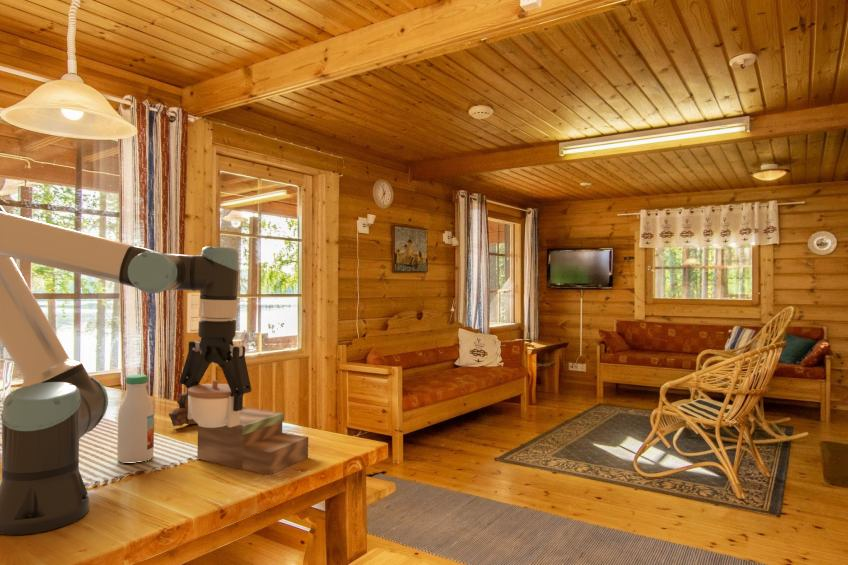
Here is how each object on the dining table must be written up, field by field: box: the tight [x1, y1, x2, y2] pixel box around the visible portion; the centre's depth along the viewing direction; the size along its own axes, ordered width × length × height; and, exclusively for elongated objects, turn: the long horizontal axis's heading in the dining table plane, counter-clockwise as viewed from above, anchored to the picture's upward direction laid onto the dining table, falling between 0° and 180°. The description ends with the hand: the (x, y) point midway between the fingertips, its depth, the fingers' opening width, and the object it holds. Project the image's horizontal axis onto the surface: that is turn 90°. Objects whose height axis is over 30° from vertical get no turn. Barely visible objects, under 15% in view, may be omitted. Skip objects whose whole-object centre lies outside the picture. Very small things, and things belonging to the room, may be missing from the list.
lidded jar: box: [188, 379, 232, 428], centre depth 124 cm, size 11×11×9 cm
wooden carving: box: [168, 390, 198, 427], centre depth 170 cm, size 16×5×10 cm, turn 162°
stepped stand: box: [196, 403, 309, 475], centre depth 140 cm, size 14×22×12 cm, turn 65°
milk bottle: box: [116, 374, 155, 462], centre depth 137 cm, size 8×8×20 cm
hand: (213, 421), depth 124 cm, fingers closed on lidded jar, 11 cm apart
